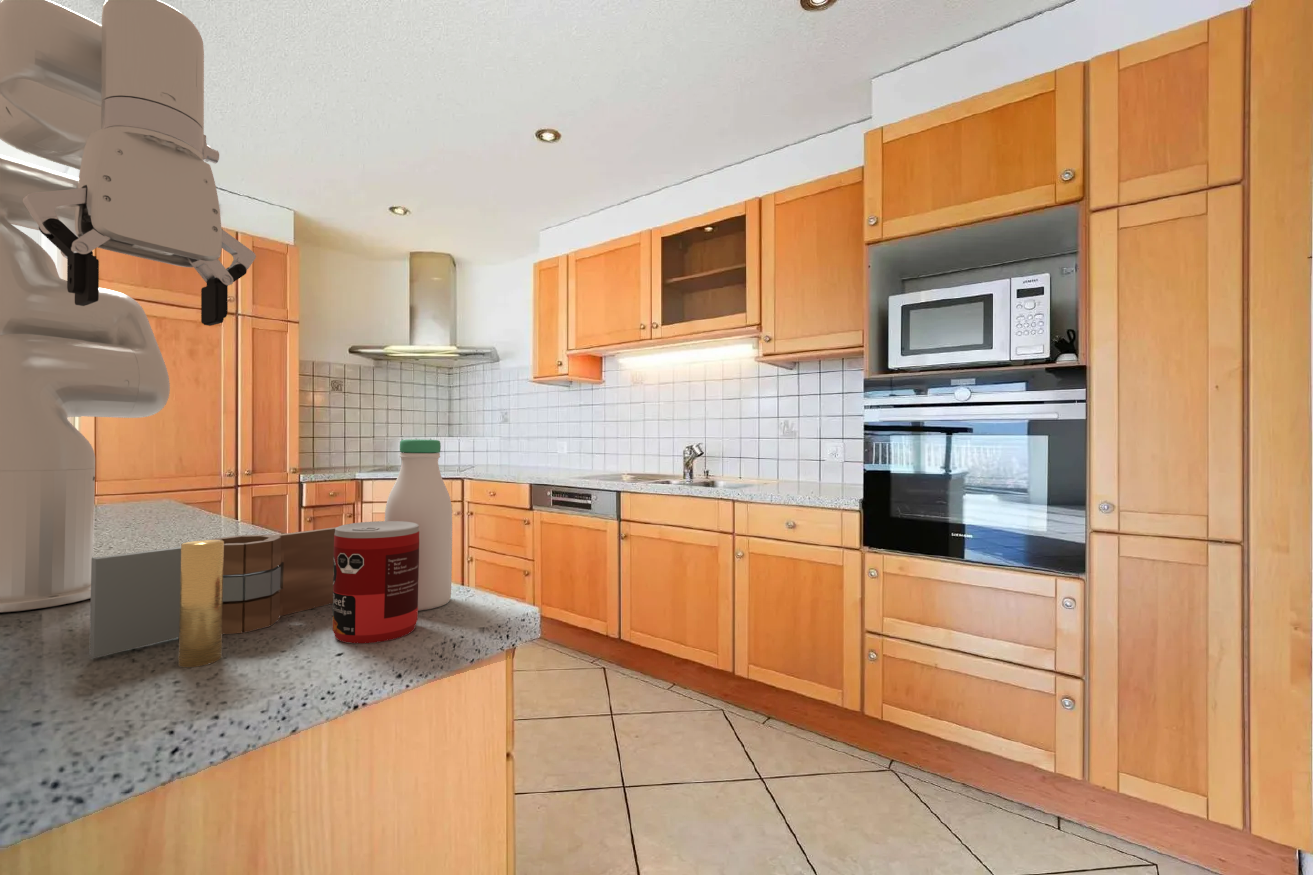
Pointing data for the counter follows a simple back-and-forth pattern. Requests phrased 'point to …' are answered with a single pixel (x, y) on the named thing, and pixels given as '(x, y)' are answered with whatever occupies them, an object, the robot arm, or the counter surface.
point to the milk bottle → (425, 517)
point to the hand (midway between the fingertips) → (154, 314)
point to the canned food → (375, 581)
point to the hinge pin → (201, 602)
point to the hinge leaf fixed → (300, 578)
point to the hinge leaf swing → (151, 598)
